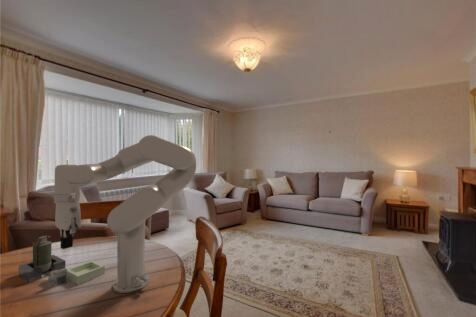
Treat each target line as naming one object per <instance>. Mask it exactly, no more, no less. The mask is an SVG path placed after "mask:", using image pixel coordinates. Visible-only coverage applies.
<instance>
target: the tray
mask: <svg viewBox="0 0 476 317" xmlns="http://www.w3.org/2000/svg"><path fill="white" fill-rule="evenodd" d="M66 269H67V268H66ZM105 272H106V271H105V265H104V264H101V263H99V262H96V261H94V260H90V261H87V262H84V263H82V264H79V265H75V266H73V267H70V268H68V269H67V281H68V280H69V281H70V282H72V283H73V284H76V285H77V286H79V285H81V284H84V283H86V282H88V281H91V280H93V279H95V278H97V277H100V276H103V275H105V274H106V273H105Z"/></svg>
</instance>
